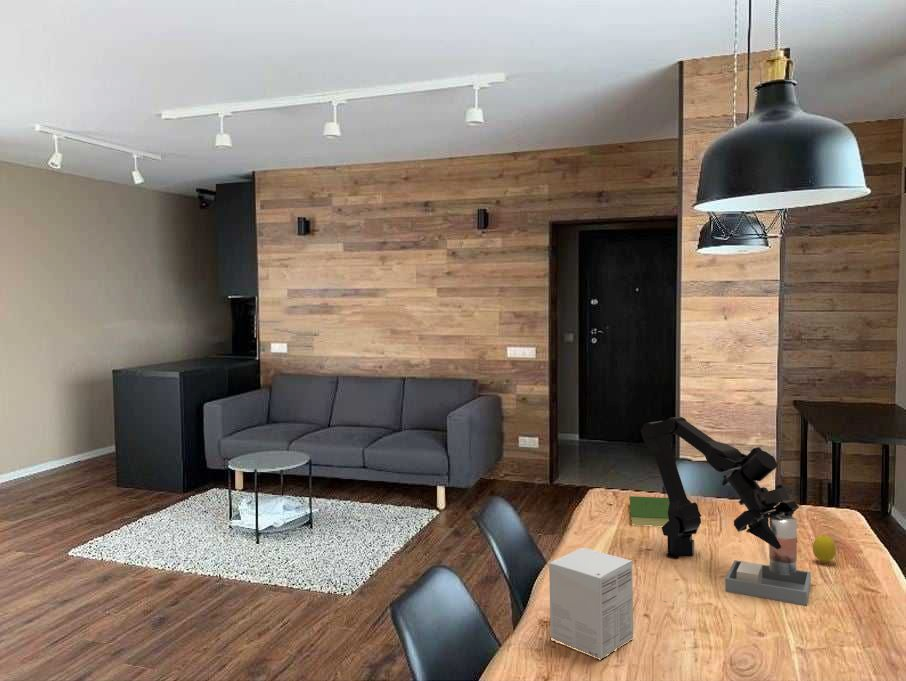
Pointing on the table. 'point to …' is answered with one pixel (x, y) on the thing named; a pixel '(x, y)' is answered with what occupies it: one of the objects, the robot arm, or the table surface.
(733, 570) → the tote
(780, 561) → the steel tin
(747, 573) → the white rectangular block
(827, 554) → the lemon
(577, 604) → the supplement box
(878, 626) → the table surface
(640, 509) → the hardcover book
